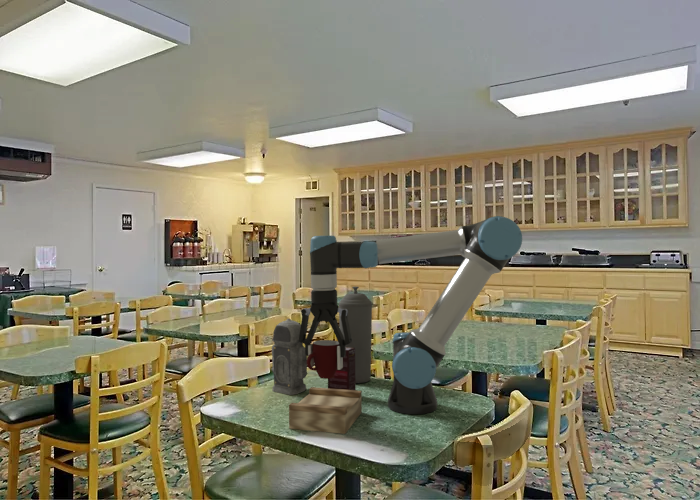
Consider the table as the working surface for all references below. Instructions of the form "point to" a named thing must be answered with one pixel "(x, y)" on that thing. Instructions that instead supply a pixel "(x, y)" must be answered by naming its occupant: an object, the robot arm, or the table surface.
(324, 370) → the mug
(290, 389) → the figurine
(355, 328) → the canister
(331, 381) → the supplement box
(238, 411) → the table surface
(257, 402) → the table surface
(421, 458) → the table surface
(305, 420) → the pedestal
